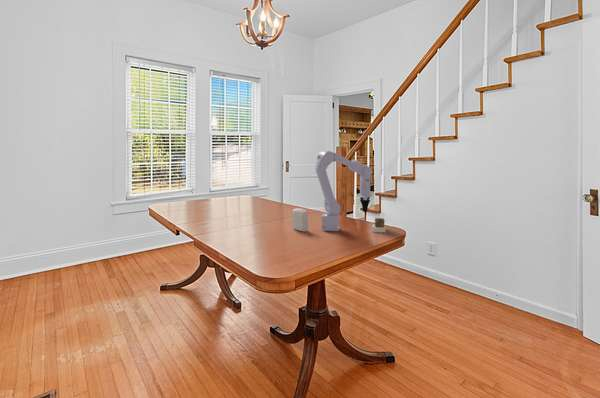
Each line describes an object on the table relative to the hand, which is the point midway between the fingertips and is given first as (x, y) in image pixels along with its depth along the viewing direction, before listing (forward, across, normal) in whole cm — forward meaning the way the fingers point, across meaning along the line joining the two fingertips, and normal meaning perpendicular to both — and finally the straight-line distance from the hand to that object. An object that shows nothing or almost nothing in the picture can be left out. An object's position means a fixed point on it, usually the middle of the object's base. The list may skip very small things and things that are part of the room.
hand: (364, 210), depth 188 cm
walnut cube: (+7, -9, -8) cm, 14 cm away
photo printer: (+10, -12, +36) cm, 39 cm away
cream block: (+10, -9, -8) cm, 15 cm away
